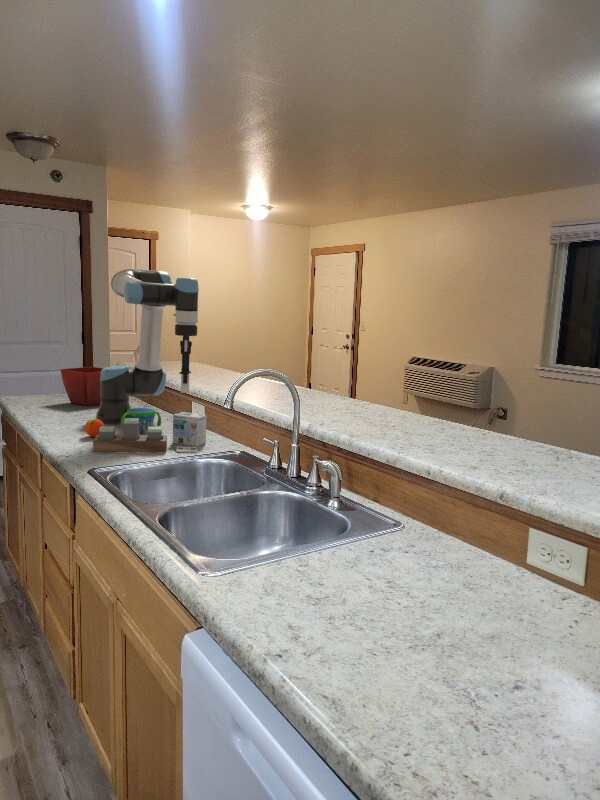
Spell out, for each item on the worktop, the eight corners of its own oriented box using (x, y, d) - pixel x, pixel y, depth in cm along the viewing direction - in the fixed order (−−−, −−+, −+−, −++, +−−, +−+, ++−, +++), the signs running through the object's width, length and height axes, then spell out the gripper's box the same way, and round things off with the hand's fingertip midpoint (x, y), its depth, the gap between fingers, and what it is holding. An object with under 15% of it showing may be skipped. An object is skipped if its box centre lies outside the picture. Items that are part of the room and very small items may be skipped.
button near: (101, 445, 208) (101, 426, 207) (114, 445, 209) (114, 426, 208) (99, 449, 204) (99, 428, 203) (113, 449, 205) (113, 429, 204)
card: (176, 448, 212) (176, 446, 212) (196, 448, 213) (196, 446, 213) (176, 452, 206) (176, 450, 206) (197, 452, 208) (197, 450, 207)
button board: (97, 445, 211) (97, 434, 210) (166, 445, 215) (167, 435, 215) (92, 452, 201) (92, 440, 200) (166, 452, 206) (166, 441, 205)
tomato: (96, 440, 219) (96, 421, 218) (79, 438, 220) (79, 419, 219) (107, 435, 227) (107, 417, 226) (91, 434, 228) (91, 415, 227)
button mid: (124, 437, 209) (125, 418, 208) (138, 437, 210) (138, 418, 209) (123, 440, 205) (123, 420, 204) (137, 440, 206) (137, 420, 205)
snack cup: (156, 432, 237) (156, 406, 236) (165, 437, 229) (166, 411, 227) (116, 435, 229) (116, 408, 227) (125, 440, 220) (125, 413, 219)
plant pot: (85, 408, 283) (84, 372, 280) (59, 403, 293) (59, 368, 290) (117, 403, 299) (117, 370, 296) (92, 399, 309) (92, 366, 306)
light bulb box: (171, 443, 220) (172, 414, 219) (181, 439, 227) (182, 411, 225) (197, 446, 217) (198, 417, 215) (206, 443, 223) (207, 414, 221)
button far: (148, 446, 211) (148, 426, 210) (161, 446, 212) (162, 426, 211) (147, 449, 207) (147, 429, 206) (161, 449, 208) (161, 429, 207)
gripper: (175, 322, 210) (174, 389, 213) (174, 324, 197) (173, 395, 200) (197, 323, 211) (195, 390, 215) (197, 325, 198) (196, 395, 202)
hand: (184, 392), depth 208 cm, fingers closed
